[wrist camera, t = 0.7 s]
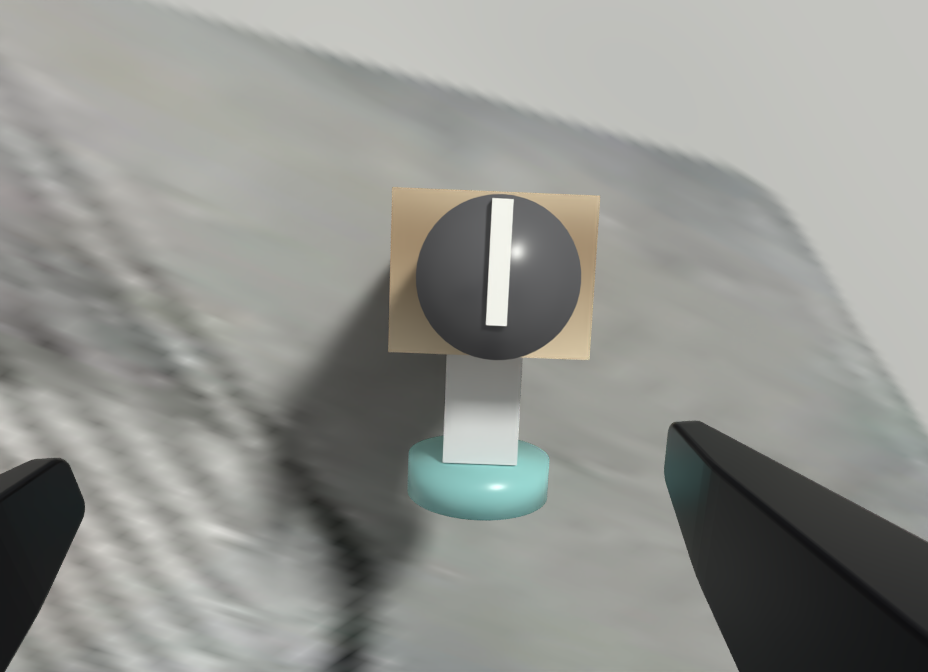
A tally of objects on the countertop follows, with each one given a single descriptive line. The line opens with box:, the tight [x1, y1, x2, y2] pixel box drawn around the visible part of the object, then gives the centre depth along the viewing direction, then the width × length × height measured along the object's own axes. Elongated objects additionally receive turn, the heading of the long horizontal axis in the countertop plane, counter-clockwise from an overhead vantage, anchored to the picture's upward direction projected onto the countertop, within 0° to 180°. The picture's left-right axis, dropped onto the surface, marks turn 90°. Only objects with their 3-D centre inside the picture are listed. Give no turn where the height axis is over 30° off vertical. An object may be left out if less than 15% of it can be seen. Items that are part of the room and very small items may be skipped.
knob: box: [408, 354, 549, 520], centre depth 18 cm, size 6×4×4 cm
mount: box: [388, 187, 600, 360], centre depth 20 cm, size 4×5×11 cm
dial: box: [416, 194, 581, 360], centre depth 13 cm, size 3×3×3 cm
